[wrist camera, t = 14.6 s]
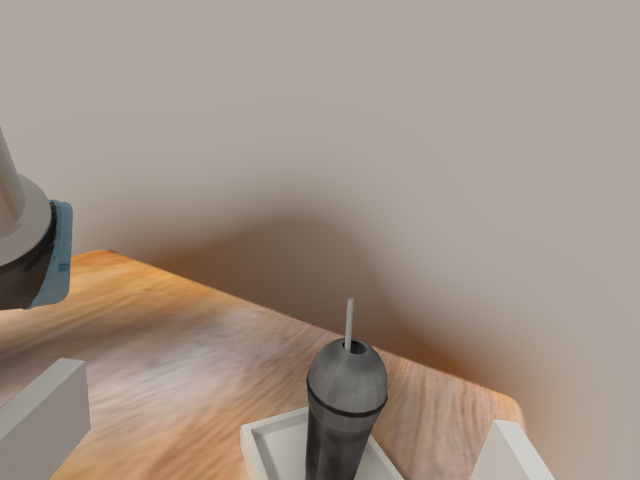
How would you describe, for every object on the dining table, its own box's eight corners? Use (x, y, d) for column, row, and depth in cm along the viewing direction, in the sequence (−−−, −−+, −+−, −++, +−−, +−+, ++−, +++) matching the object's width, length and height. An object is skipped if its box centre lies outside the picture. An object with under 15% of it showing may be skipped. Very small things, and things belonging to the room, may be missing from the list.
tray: (239, 443, 36) (241, 425, 35) (339, 411, 42) (342, 395, 42) (293, 617, 24) (297, 595, 23) (424, 535, 30) (430, 516, 29)
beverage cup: (377, 509, 31) (428, 320, 25) (302, 530, 28) (339, 325, 22) (347, 441, 37) (381, 279, 31) (283, 453, 35) (308, 280, 29)
